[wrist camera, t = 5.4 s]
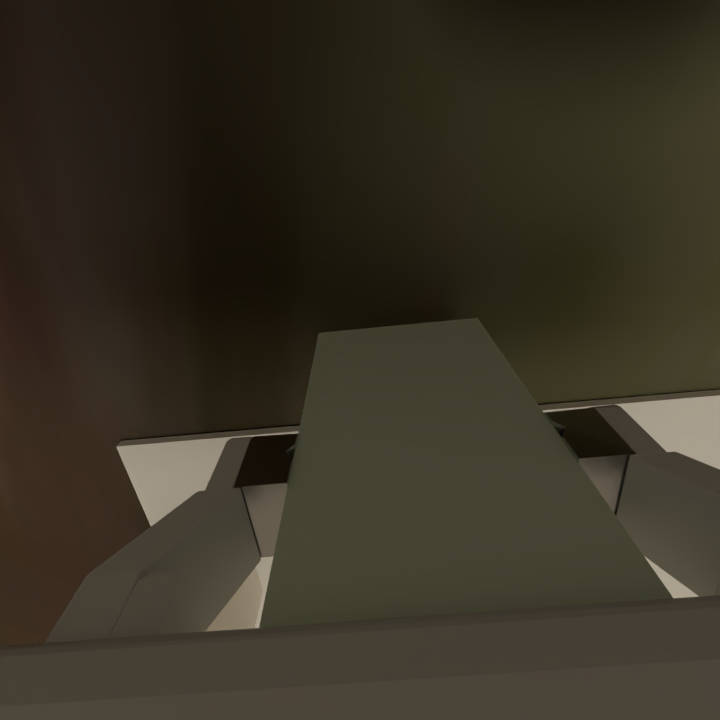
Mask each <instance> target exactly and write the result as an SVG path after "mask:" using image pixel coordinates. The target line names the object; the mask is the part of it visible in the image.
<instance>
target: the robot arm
mask: <svg viewBox="0 0 720 720" xmlns="http://www.w3.org/2000/svg"><path fill="white" fill-rule="evenodd" d="M544 415H545V416H546V418H547V419H548V421H549V422H550V424H551V425H552V426H553V427H554V428H555V429H556V431H557V432H558V434H559V435H560V437H561V438H562V441H563V442H564V444H565V445H566V446H567V448H568V449H569V451H570V452H571V453H572V455H573V456H574V458H575V459H576V460H577V462H578V463H579V464H580V465H581V467H582V468H583V469H584V471H585V472H586V474H587V475H588V477H589V478H590V479H591V481H592V482H593V484H594V485H595V487H596V488H597V489H598V491H599V492H600V494H601V495H602V497H603V498H604V499H605V501H606V502H607V504H608V505H609V507H610V508H611V510H612V511H613V512H614V514H615V515H616V517H617V518H618V520H619V521H620V522H621V524H622V525H623V527H624V528H625V530H626V531H627V532H628V534H629V535H630V537H631V538H632V540H633V541H634V542H635V544H636V545H637V547H638V548H639V550H640V551H641V552H642V554H643V555H644V556H645V557H646V558H648V559H649V560H650V561H652V562H653V563H654V564H656V565H657V566H658V567H660V568H661V569H662V570H664V571H665V572H667V573H668V574H669V575H671V576H672V577H673V578H675V579H676V580H677V581H679V582H680V583H681V584H683V585H684V586H685V587H687V588H688V589H690V590H691V591H692V592H694V593H695V594H696V595H698V596H699V597H685V598H670V599H656V600H642V601H628V602H614V603H599V604H585V605H571V606H557V607H543V608H528V609H514V610H500V611H486V612H472V613H458V614H444V615H430V616H416V617H402V618H388V619H374V620H360V621H346V622H332V623H318V624H304V625H290V626H276V627H262V628H247V629H233V630H219V631H206V630H207V629H208V627H209V626H210V625H211V623H212V622H213V621H214V620H215V618H216V617H217V616H218V615H219V613H220V612H221V611H222V609H223V608H224V607H225V606H226V604H227V603H228V602H229V601H230V599H231V598H232V597H233V595H234V594H235V593H236V592H237V590H238V589H239V588H240V586H241V585H242V584H243V583H244V581H245V580H246V579H247V578H248V576H249V575H250V574H251V572H252V571H253V570H254V569H255V567H256V566H257V565H258V564H259V562H260V561H261V558H263V557H272V556H274V551H275V546H276V541H277V536H278V531H279V526H280V521H281V516H282V512H283V507H284V502H285V497H286V492H287V487H288V484H289V480H290V475H291V470H292V465H293V457H294V452H295V448H296V445H297V440H298V435H299V433H297V434H282V435H267V436H254V437H240V438H231V439H229V440H228V441H227V442H226V444H225V446H224V448H223V451H222V453H221V455H220V457H219V460H218V462H217V464H216V467H215V469H214V471H213V473H212V476H211V478H210V480H209V482H208V485H207V487H206V489H205V491H197V492H196V493H195V494H193V495H192V496H191V497H190V498H188V499H187V500H186V501H184V502H183V503H182V504H180V505H179V506H178V507H176V508H175V509H174V510H172V511H171V512H170V513H168V514H167V515H166V516H164V517H163V518H162V519H160V520H159V521H158V522H157V523H155V524H154V525H153V526H151V527H150V528H149V529H147V530H146V531H145V532H143V533H142V534H141V535H139V536H138V537H137V538H135V539H134V540H133V541H131V542H130V543H129V544H128V545H126V546H125V547H124V548H122V549H121V550H120V551H118V552H117V553H116V554H114V555H113V556H112V557H110V558H109V559H108V560H106V561H105V562H104V563H102V564H101V565H100V566H98V567H97V568H96V569H95V570H93V571H92V572H91V573H89V574H88V575H87V576H86V577H85V579H84V581H83V582H82V584H81V585H80V587H79V589H78V590H77V592H76V593H75V595H74V597H73V598H72V600H71V601H70V603H69V604H68V606H67V608H66V609H65V611H64V612H63V614H62V616H61V617H60V619H59V620H58V622H57V624H56V625H55V627H54V628H53V630H52V631H51V633H50V635H49V636H48V638H47V639H46V641H45V643H37V644H22V645H8V646H0V720H720V469H717V468H715V467H712V466H710V465H707V464H705V463H703V462H700V461H698V460H695V459H693V458H690V457H688V456H685V455H683V454H680V453H678V452H676V451H675V452H666V451H665V450H664V449H663V448H662V447H661V446H660V445H659V444H658V443H657V442H656V441H655V440H654V439H653V438H652V437H651V436H650V435H649V434H648V433H647V432H646V431H645V430H644V429H643V428H642V427H641V426H640V425H639V424H638V423H637V422H636V421H635V420H634V419H633V418H632V417H631V416H630V415H629V414H628V413H627V412H626V411H625V410H624V409H623V408H622V407H620V406H618V405H615V404H613V405H605V406H596V407H590V408H583V409H573V410H563V411H553V412H544Z"/></svg>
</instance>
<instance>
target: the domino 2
mask: <svg viewBox="0 0 720 720" xmlns="http://www.w3.org/2000/svg"><path fill="white" fill-rule="evenodd" d="M298 433H299V435H298V440H297V445H296V448H295V452H294V457H293V465H292V470H291V475H290V480H289V484H288V487H287V492H286V497H285V502H284V507H283V512H282V516H281V521H280V526H279V531H278V536H277V541H276V546H275V551H274V556H273V561H272V566H271V571H270V576H269V581H268V586H267V591H266V596H265V601H264V606H263V610H262V615H261V620H260V625H259V628H262V627H276V626H290V625H304V624H318V623H332V622H346V621H360V620H374V619H388V618H402V617H416V616H430V615H444V614H458V613H472V612H486V611H500V610H514V609H528V608H543V607H557V606H571V605H585V604H599V603H614V602H628V601H642V600H656V599H670V598H673V597H672V595H671V594H670V592H669V591H668V590H667V588H666V587H665V585H664V584H663V582H662V581H661V580H660V578H659V577H658V575H657V574H656V572H655V571H654V570H653V568H652V567H651V565H650V564H649V562H648V561H647V560H646V558H645V557H644V555H643V554H642V552H641V551H640V550H639V548H638V547H637V545H636V544H635V542H634V541H633V540H632V538H631V537H630V535H629V534H628V532H627V531H626V530H625V528H624V527H623V525H622V524H621V522H620V521H619V520H618V518H617V517H616V515H615V514H614V512H613V511H612V510H611V508H610V507H609V505H608V504H607V502H606V501H605V499H604V498H603V497H602V495H601V494H600V492H599V491H598V489H597V488H596V487H595V485H594V484H593V482H592V481H591V479H590V478H589V477H588V475H587V474H586V472H585V471H584V469H583V468H582V467H581V465H580V464H579V463H578V462H577V460H576V459H575V458H574V456H573V455H572V453H571V452H570V451H569V449H568V448H567V446H566V445H565V444H564V442H563V441H562V438H561V437H560V435H559V434H558V432H557V431H556V429H555V428H554V427H553V426H552V425H551V424H550V422H549V421H548V419H547V418H546V416H545V415H544V412H543V411H542V409H541V408H540V407H539V405H538V404H537V402H536V401H535V399H534V398H533V397H532V395H531V394H530V392H529V391H528V389H527V388H526V387H525V385H524V384H523V382H522V381H521V379H520V378H519V377H518V375H517V374H516V372H515V371H514V369H513V368H512V367H511V365H510V364H509V362H508V361H507V359H506V358H505V357H504V355H503V354H502V352H501V351H500V349H499V348H498V347H497V345H496V344H495V342H494V341H493V339H492V338H491V337H490V335H489V334H488V332H487V331H486V329H485V328H484V327H483V325H482V324H481V322H480V321H479V319H478V318H470V319H460V320H449V321H439V322H428V323H418V324H407V325H397V326H386V327H376V328H365V329H355V330H344V331H334V332H323V333H318V338H317V343H316V348H315V353H314V358H313V363H312V368H311V373H310V378H309V383H308V388H307V393H306V398H305V403H304V408H303V413H302V418H301V422H300V427H299V432H298Z"/></svg>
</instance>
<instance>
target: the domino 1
mask: <svg viewBox="0 0 720 720" xmlns="http://www.w3.org/2000/svg"><path fill="white" fill-rule="evenodd" d="M262 593H263V589H262V585H261V582H260V579H259V575H258V572H257V569H256V567H255V569H254V570H253V571H252V572H251V574H250V575H249V576H248V578H247V579H246V580H245V581H244V583H243V584H242V585H241V586H240V588H239V589H238V590H237V592H236V593H235V594H234V595H233V597H232V598H231V599H230V601H229V602H228V603H227V604H226V606H225V607H224V608H223V609H222V611H221V612H220V613H219V615H218V616H217V617H216V618H215V620H214V621H213V622H212V623H211V625H210V626H209V627H208V629H207V630H206V631H219V630H233V629H247V628H255V624H256V619H257V615H258V611H259V606H260V602H261V597H262Z"/></svg>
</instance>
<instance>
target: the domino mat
mask: <svg viewBox="0 0 720 720" xmlns="http://www.w3.org/2000/svg"><path fill="white" fill-rule="evenodd" d="M613 404H615V405H618V406H620V407H622V408H623V409H624V410H625V411H626V412H627V413H628V414H629V415H630V416H631V417H632V418H633V419H634V420H635V421H636V422H637V423H638V424H639V425H640V426H641V427H642V428H643V429H644V430H645V431H646V432H647V433H648V434H649V435H650V436H651V437H652V438H653V439H654V440H655V441H656V442H657V443H658V444H659V445H660V446H661V447H662V448H663V449H664V450H665V451H666V452H675V451H676V452H678V453H680V454H683V455H685V456H688V457H690V458H693V459H695V460H698V461H700V462H703V463H705V464H707V465H710V466H712V467H715V468H717V469H720V390H709V391H697V392H685V393H674V394H662V395H650V396H639V397H627V398H615V399H604V400H592V401H580V402H569V403H557V404H545V405H539V407H540V408H541V409H542V411H543V412H553V411H563V410H573V409H583V408H590V407H596V406H605V405H613ZM299 427H300V426H288V427H277V428H265V429H253V430H242V431H230V432H218V433H207V434H195V435H183V436H172V437H160V438H148V439H137V440H125V441H120V443H119V444H118V445H117V446H116V447H117V450H118V452H119V454H120V457H121V459H122V461H123V463H124V466H125V468H126V470H127V473H128V475H129V477H130V480H131V482H132V484H133V486H134V489H135V491H136V493H137V496H138V498H139V500H140V503H141V505H142V507H143V510H144V512H145V514H146V516H147V519H148V521H149V523H150V526H153V525H154V524H155V523H157V522H158V521H159V520H160V519H162V518H163V517H164V516H166V515H167V514H168V513H170V512H171V511H172V510H174V509H175V508H176V507H178V506H179V505H180V504H182V503H183V502H184V501H186V500H187V499H188V498H190V497H191V496H192V495H193V494H195V493H196V492H197V491H205V489H206V487H207V485H208V482H209V480H210V478H211V476H212V473H213V471H214V469H215V467H216V464H217V462H218V460H219V457H220V455H221V453H222V451H223V448H224V446H225V444H226V442H227V441H228V440H229V439H231V438H240V437H254V436H267V435H282V434H297V433H298V432H299ZM644 557H645V556H644ZM645 558H646V557H645ZM646 560H647V561H648V562H649V564H650V565H651V567H652V568H653V570H654V571H655V572H656V574H657V575H658V577H659V578H660V580H661V581H662V582H663V584H664V585H665V587H666V588H667V590H668V591H669V592H670V594H671V595H672V597H673V598H685V597H699V596H698V595H696V594H695V593H694V592H692V591H691V590H690V589H688V588H687V587H685V586H684V585H683V584H681V583H680V582H679V581H677V580H676V579H675V578H673V577H672V576H671V575H669V574H668V573H667V572H665V571H664V570H662V569H661V568H660V567H658V566H657V565H656V564H654V563H653V562H652V561H650V560H649V559H648V558H646ZM272 561H273V556H272V557H263V558H261V561H260V562H259V564H258V565H257V566H256V569H257V572H258V575H259V579H260V582H261V585H262V589H263V593H262V597H261V602H260V606H259V611H258V615H257V619H256V624H255V628H259V625H260V620H261V615H262V610H263V606H264V601H265V596H266V591H267V586H268V581H269V576H270V571H271V566H272Z"/></svg>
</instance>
